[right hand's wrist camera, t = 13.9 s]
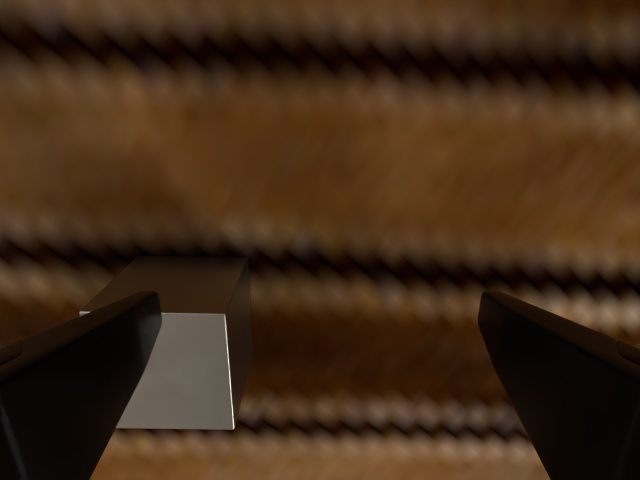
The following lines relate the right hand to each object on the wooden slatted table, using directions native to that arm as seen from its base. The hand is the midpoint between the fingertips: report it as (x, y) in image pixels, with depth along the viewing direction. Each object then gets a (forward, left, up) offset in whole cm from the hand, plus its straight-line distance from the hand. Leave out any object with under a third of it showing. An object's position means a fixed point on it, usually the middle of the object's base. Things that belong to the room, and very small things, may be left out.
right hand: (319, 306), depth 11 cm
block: (-5, -4, -6) cm, 9 cm away
